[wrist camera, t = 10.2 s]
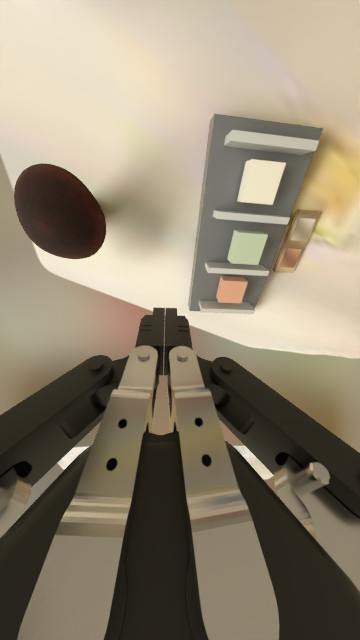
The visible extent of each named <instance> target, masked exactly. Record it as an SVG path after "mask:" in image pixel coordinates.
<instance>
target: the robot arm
mask: <svg viewBox="0 0 360 640" xmlns="http://www.w3.org/2000/svg"><path fill="white" fill-rule="evenodd" d="M164 317H165V355H164V375H168V382H167V391H168V405H169V417H170V433H169V434H165V435H156V434H152V430H153V419H154V412H155V404H156V397H157V390H158V384H159V375H163V352H164V351H163V349H164ZM218 418H219V419H220V420H221V421H222V422H223V423H224V424H225V425H226V426H227V427H228V428H229V430H230V431H232V433H233V434H234V435H235V436H236V437H237V438H238V439H239V440H240V441H241V442H242V443H243V444H244V445H245V446H246V447H247V448H248V449H249V450H250V451H251V452H252V453H253V454H254V455H255V456H256V457H257V458H258V459H259V460H260V461H261V462H262V463H263V464H264V465H265V466H266V467H267V469H268V470H269V471H270V472H271V473H272V474H273V475H274V483H275V487H276V490H277V492H278V495H279V497H280V498H281V499H282V500H283V501H284V503H285V504H286V505H287V506H286V505H285V504H284V503H283V502H282V501H281V500H280V499H279V497H278V496H277V495H276V494H275V493H274V491H273V490H272V489H271V488H270V487H269V486H268V485H267V484H266V482H265V481H264V480H263V479H262V478H261V477H260V476H259V474H258V473H257V472H256V471H255V470H254V469H253V468H252V466H251V465H250V464H249V463H248V462H247V461H246V460H245V458H244V457H243V456H242V455H241V454H240V453H239V452H238V451H237V450H236V449H235V448H234V447H233V446H232V445H231V444H229V443H228V442H227V441H225V440H224V436H223V433H222V429H221V426H220V422H219V419H218ZM101 420H102V421H101ZM100 421H101V424H100V426H99V429H98V432H97V434H96V437H95V440H94V443H93V445H91V446H90V447H89V448H87V449H86V450H84V451H83V452H82V453H81V454H80V455H79V456H78V457H77V458H76V459H75V460H74V461H73V462H72V463H71V464H70V465H69V466H68V467H67V468H66V469H65V470H64V471H63V472H62V473H61V474H60V475H59V477H58V478H57V479H56V480H55V481H54V482H53V483H52V484H51V485H50V486H49V487H48V488H47V489H46V490H45V491H44V492H43V494H41V496H40V497H39V498H38V499H37V500H36V501H35V502H34V503H33V504H32V505H31V506H30V507H29V508H28V509H27V510H26V511H25V513H24V514H23V515H22V516H21V517H20V518H19V519H18V520H17V521H16V519H17V518H18V517H19V516H20V515H21V514H22V512H23V511H24V510H25V507H26V505H27V503H28V501H29V498H30V494H31V487H32V486H33V485H34V484H35V483H36V482H37V481H39V479H41V478H42V477H43V476H44V475H45V474H46V473H47V472H48V471H49V470H50V469H51V468H52V467H53V466H54V465H55V464H56V463H57V462H58V461H59V460H61V459H62V458H63V457H64V456H65V455H66V454H67V453H68V452H69V451H70V450H71V449H72V448H73V447H74V446H75V445H76V444H77V443H78V442H79V441H80V440H82V438H84V437H85V436H86V435H87V434H88V433H89V432H90V431H91V430H92V429H93V428H94V427H95V426H96V425H97V424H98V423H99V422H100ZM288 508H289V509H288ZM15 521H16V522H15ZM14 522H15V523H14ZM13 523H14V524H13ZM12 524H13V525H12ZM11 525H12V526H11ZM0 640H360V453H359V452H357V451H356V450H355V449H353V448H352V447H350V446H349V445H348V444H346V443H345V442H344V441H342V440H341V439H340V438H338V437H337V436H335V435H334V434H333V433H331V432H330V431H329V430H327V429H326V428H325V427H323V426H322V425H321V424H319V423H318V422H316V421H315V420H314V419H312V418H311V417H310V416H308V415H307V414H306V413H304V412H303V411H301V410H300V409H299V408H297V407H296V406H295V405H293V404H292V403H291V402H289V401H288V400H287V399H285V398H284V397H282V396H281V395H280V394H278V393H277V392H276V391H274V390H273V389H272V388H270V387H269V386H268V385H266V384H265V383H263V382H262V381H261V380H259V379H258V378H257V377H255V376H254V375H253V374H251V373H250V372H249V371H247V370H246V369H244V368H243V367H242V366H240V365H239V364H238V363H236V362H235V361H233V360H232V359H230V358H226V357H219V358H216V359H215V360H214V361H213V362H212V361H208V360H205V359H202V358H200V357H198V356H197V355H196V354H195V352H194V351H193V349H192V342H191V337H190V330H189V323H188V320H187V319H186V318H185V316H177V308H166V315H165V308H154V309H153V315H145V316H144V317H143V318H142V319H141V323H140V327H139V332H138V337H137V341H136V346H135V349H133V350H132V351H131V353H130V355H129V356H127V357H125V358H123V359H119V360H115V361H112V360H111V359H110V358H109V357H107V356H103V355H99V356H94V357H91V358H89V359H87V360H86V361H84V362H83V363H81V364H80V365H78V366H76V367H75V368H73V369H72V370H70V371H69V372H67V373H66V374H64V375H62V376H61V377H59V378H58V379H56V380H55V381H53V382H52V383H50V384H49V385H47V386H45V387H44V388H42V389H41V390H39V391H37V392H36V393H34V394H33V395H31V396H30V397H28V398H27V399H25V400H23V401H22V402H20V403H19V404H17V405H16V406H14V407H12V408H11V409H10V410H8V411H6V412H5V413H3V414H2V415H0Z"/></svg>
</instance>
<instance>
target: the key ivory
mask: <svg viewBox="0 0 360 640" xmlns="http://www.w3.org/2000/svg"><path fill="white" fill-rule="evenodd" d="M285 165H286V163H282V162H274V161H265V160H256V159H251V160H248V161H246V163H245V167H244V172H243V176H242V181H241V185H240V190H239V194H238V199H237V201H238V202H246V203H257V204H268V205H273V202H274V199H275V196H276V193H277V190H278V186H279V183H280V180H281V177H282V174H283V171H284V168H285Z"/></svg>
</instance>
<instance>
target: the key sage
mask: <svg viewBox="0 0 360 640" xmlns="http://www.w3.org/2000/svg"><path fill="white" fill-rule="evenodd" d="M267 237H268V234H266V233H263V232H257V231H244V230H234V232H233V236H232V241H231V245H230V249H229V254H228V258H227V259H228V260H229V262H230V263H232V264H249V265H258V264H259V261H260V258H261V255H262V252H263V249H264V246H265V243H266V240H267Z"/></svg>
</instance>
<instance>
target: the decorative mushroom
mask: <svg viewBox="0 0 360 640" xmlns="http://www.w3.org/2000/svg"><path fill="white" fill-rule="evenodd" d="M14 199H15V207H16V211H17V215H18V218H19V221H20V223H21V225H22V227H23V229H24V231H25V232H26V234H27V235H28V236H29V238H30V239H31V240H32V241H33V242H34V243H35V244H36V245H37V246H39V247H40V248H41V249H43V250H44V251H46V252H48V253H50V254H53V255H56V256H59V257H63V258H69V259H81V258H87V257H90V256H92V255H93V254H95V253H96V252H97V251H98V250H99V249H100V248H101V246H102V244H103V242H104V239H105V235H106V222H105V217H104V214H103V211H102V209H101V207H100V205H99V204H98V202H97V201H96V199H95V198H94V196H93V195H92V194H91V192H90V191H89V190H88V188H87V187H86V186H85V185H84V184H83V183H82V182H81V181H80V180H79V179H78V178H77V177H76V176H74V175H73V174H72V173H70V172H69V171H67V170H65V169H63V168H61V167H58V166H55V165H51V164H36V165H33V166H30V167H28V168H27V169H25V170H24V171H23V172H22V173H21V175H20V176H19V178H18V180H17V182H16V185H15V191H14Z"/></svg>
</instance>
